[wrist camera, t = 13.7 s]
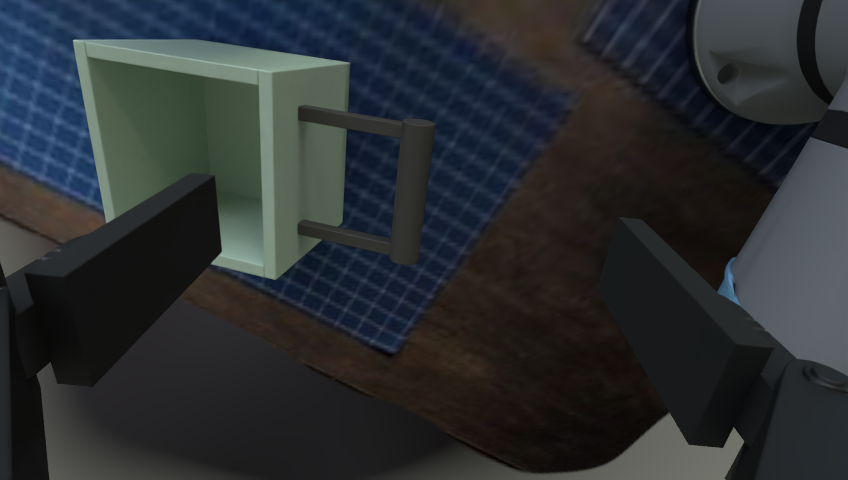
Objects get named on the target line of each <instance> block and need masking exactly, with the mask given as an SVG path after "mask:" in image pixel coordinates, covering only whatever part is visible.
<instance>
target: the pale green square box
mask: <svg viewBox="0 0 848 480" xmlns="http://www.w3.org/2000/svg"><path fill="white" fill-rule="evenodd" d="M73 45H74V50H75V56H76V61H77V66H78V72H79V77H80V83H81V88H82V93H83V99H84V104H85V110H86V115H87V120H88V126H89V131H90V137H91V142H92V147H93V153H94V158H95V164H96V169H97V175H98V180H99V185H100V191H101V196H102V202H103V207H104V212H105V218H106V223H108V222H110V221H111V220H113V219H115V218H116V217H118V216H120V215H121V214H123V213H125V212H126V211H128V210H130V209H131V208H133V207H135V206H136V205H138V204H140V203H141V202H143V201H145V200H146V199H148V198H150V197H151V196H153V195H155V194H157V193H158V192H160V191H162V190H163V189H165V188H167V187H168V186H170V185H172V184H173V183H175V182H177V181H178V180H180V179H182V178H183V177H185V176H187V175H188V174H190V173H197V174H207V175H215V182H216V192H217V203H218V213H219V224H220V234H221V245H222V252H221V253H220V254H219V256H218V257H217V258H216V259H215V260H214V261H213V262H212V263H211V264H212V265H217V266H221V267H225V268H229V269H233V270H237V271H241V272H245V273H249V274H253V275H257V276H261V277H266V278H270V279H274V280H276V279H277V278H279V277H280V276H281V275H282V274H283V273H284V272H286V271H287V270H288V269H289V268H290V267H291V266H292V265H294V264H295V263H296V262H297V261H298V260H299V259H301V258H302V257H303V256H304V255H305V254H306V253H307V252H309V251H310V250H311V249H312V248H313V247H314V246H316V245H317V244H318V243H319V242H320V241H321V240H325V241H330V242H334V243H339V244H343V245H347V246H352V247H356V248H361V249H365V250H369V251H374V252H378V253H383V254H387V255H389V258H390V260H391V261H392V262H394V263H396V264H400V265H412V264H415V263H416V262H417V261H418V257H419V250H420V242H421V234H422V226H423V218H424V210H425V203H426V195H427V187H428V179H429V171H430V164H431V156H432V148H433V140H434V132H435V123H433V122H431V121H428V120H423V119H414V118H408V119H404V120H403V121H397V120H391V119H385V118H379V117H373V116H367V115H362V114H356V113H350V112H348V95H349V74H350V63H349V62H342V61H336V60H329V59H323V58H316V57H309V56H303V55H296V54H290V53H283V52H277V51H270V50H263V49H257V48H250V47H244V46H237V45H230V44H224V43H217V42H211V41H204V40H73ZM347 129H350V130H355V131H361V132H367V133H372V134H378V135H383V136H389V137H395V138H400V139H401V141H400V152H399V162H398V172H397V182H396V192H395V203H394V213H393V223H392V233H391V238H386V237H382V236H377V235H373V234H368V233H364V232H359V231H355V230H350V229H345V228H341V227H337V226H339V225H340V224H341V223H342V220H343V199H344V178H345V157H346V137H347Z"/></svg>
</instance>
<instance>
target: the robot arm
mask: <svg viewBox="0 0 848 480" xmlns="http://www.w3.org/2000/svg"><path fill="white" fill-rule="evenodd" d="M686 48H687V55H688V60H689V64H690V67H691V70H692V73H693V75H694V77H695V79H696V81H697V83H698V84H699V86H700V88H701V89H702V90H703V92H704V93H705V94H706V96H707V97H708V98H710V99H711V100H712V101H713V102H714V103H715V104H716V105H718V106H719V107H720V108H722V109H724V110H725V111H727V112H729V113H731V114H734V115H736V116H739V117H742V118H746V119H749V120H752V121H756V122H761V123H766V124H789V125H791V124H802V123H809V122H815V121H820V122H819V124H818V126H817V127H816V129H815V131H814V132H813V134H812V135H811V136H812V137H810V138H809V139H808V141H807V143H806V144H805V146H804V148H803V150H802V151H801V153H800V155H799V156H798V158H797V160H796V162H795V163H794V165H793V166H792V168H791V170H790V171H789V173H788V175H787V176H786V178H785V179H784V181H783V183H782V184H781V186H780V188H779V189H778V191H777V192H776V194H775V196H774V197H773V199H772V201H771V202H770V204H769V205H768V207H767V209H766V210H765V212H764V214H763V215H762V217H761V218H760V220H759V222H758V223H757V225H756V227H755V228H754V230H753V232H752V233H751V235H750V236H749V238H748V240H747V241H746V243H745V245H744V246H743V248H742V249H741V251H740V253H739V254H738V256H737V257H734V258H732V259H731V260H730V261H729V263H728V264H727V266H726V269H725V278H724V280H723V282H722V284H721V286H720V288H719V290H718V292H716V291H715V290H714V289H713V288H712V287H711V286H710V285H709V284H708V283H707V282H706V281H705V280H704V279H703V278H702V277H701V276H700V275H699V274H698V273H697V272H696V271H695V270H693V269H692V268H691V267H690V266H689V265H688V264H687V263H686V262H685V261H684V260H683V259H682V258H681V257H680V256H679V255H678V254H677V253H676V252H675V251H674V250H673V249H672V248H671V247H670V246H669V245H668V244H667V243H666V242H664V241H663V240H662V239H661V238H660V237H659V236H658V235H657V234H656V233H655V232H654V231H653V230H652V229H651V228H650V227H649V226H648V225H647V224H646V223H645V222H644V221H643V220H642V219H633V218H623V217H618V220H617V223H616V227H615V230H614V233H613V237H612V240H611V244H610V247H609V250H608V254H607V257H606V260H605V264H604V267H603V271H602V274H601V277H600V281H599V284H598V287H597V291H598V292H599V294H600V296H601V297H602V299H603V301H604V303H605V304H606V306H607V308H608V309H609V311H610V313H611V314H612V316H613V318H614V319H615V321H616V323H617V324H618V326H619V328H620V330H621V331H622V333H623V335H624V336H625V338H626V340H627V341H628V343H629V345H630V346H631V348H632V350H633V351H634V353H635V355H636V357H637V358H638V360H639V362H640V363H641V365H642V367H643V368H644V370H645V372H646V373H647V375H648V377H649V378H650V380H651V382H652V384H653V385H654V387H655V389H656V390H657V392H658V394H659V395H660V397H661V399H662V400H663V402H664V404H665V405H666V407H667V409H668V411H669V412H670V414H671V416H672V417H673V419H674V420H675V422H676V424H677V426H678V427H679V429H680V431H681V432H682V434H683V436H684V438H685V439H686V441H687V442H688V444H689V445H698V446H708V447H720V448H723V447H724V445H725V443H726V441H727V439H728V437H729V434H730V433H731V431H732V429H733V427H734V428H735V429H736V430H737V432H738V433H739V435H740V436H741V437H742V439H743V440H744V441H745V442H744V444H743V446H742V447H741V449H740V451H739V453H738V455H737V457H736V459H735V460H734V462H733V464H732V466H731V468H730V470H729V471H728V473H727V475H726V477H725V479H726V480H848V0H691V2H690V5H689V10H688V16H687V24H686ZM221 252H222V245H221V234H220V224H219V213H218V203H217V192H216V182H215V175H207V174H197V173H190V174H188V175H187V176H185V177H183V178H182V179H180V180H178V181H177V182H175V183H173V184H172V185H170V186H168V187H167V188H165V189H163V190H162V191H160V192H158V193H157V194H155V195H153V196H151V197H150V198H148V199H146V200H145V201H143V202H141V203H140V204H138V205H136V206H135V207H133V208H131V209H130V210H128V211H126V212H125V213H123V214H121V215H120V216H118V217H116V218H115V219H113V220H111V221H110V222H108V223H106V224H105V225H103V226H101V227H100V228H98V229H96V230H95V231H93V232H91V233H89V234H87V235H84V236H81V237H78V238H75V239H72V240H69V241H68V242H66V243H64V244H63V245H61V246H59V247H57V248H56V249H54V252H49V253H47V254H46V255H44V256H42V257H41V259H40V260H39V259H37V260H35V261H34V262H32V263H30V264H28V265H27V266H25V267H23V268H21V269H20V270H18V271H16V272H15V273H13V274H11V275H10V276H8V277H6V278H5V276H4V273H3V270H2V267H1V264H0V480H49V472H48V462H47V451H46V440H45V430H44V420H43V409H42V398H41V387H40V384H39V381H38V378H37V375H36V374H37V373H38V372H39V371H40V370H41V369H43V368H44V367H45V366H46V365H47V364H48V363H50V362H51V364H52V367H53V371H54V374H55V377H56V380H57V383H59V384H69V385H79V386H90V387H93V386H94V385H95V384H96V383H97V382H98V381H99V380H100V379H101V378H102V377H103V376H104V375H105V373H106V372H107V371H108V370H109V369H110V368H111V367H112V366H113V365H114V364H115V363H116V362H117V361H118V360H119V359H120V358H121V357H122V356H123V355H124V354H125V352H127V351H128V350H129V348H130V347H131V346H132V345H133V344H134V343H135V342H136V341H137V340H138V339H139V338H140V337H141V336H142V335H143V334H144V333H145V332H146V331H147V330H148V329H149V327H150V326H151V325H152V324H153V323H154V322H155V321H156V320H157V319H158V318H159V317H160V316H161V315H162V314H163V313H164V312H165V311H166V310H167V309H168V308H169V307H170V306H171V305H172V304H173V303H174V301H175V300H176V299H177V298H178V297H179V296H180V295H181V294H182V293H183V292H184V291H185V290H186V289H187V288H188V287H189V286H190V285H191V284H192V283H193V282H194V281H195V280H196V279H197V277H198V276H199V275H200V274H201V273H202V272H203V271H204V270H205V269H206V268H207V267H208V266H209V265H210V264H211V263H212V262H213V261H214V260H215V259H216V258H217V257H218V256H219V254H220V253H221Z"/></svg>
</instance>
